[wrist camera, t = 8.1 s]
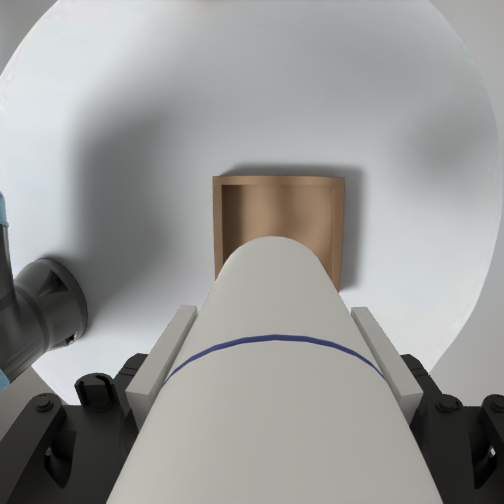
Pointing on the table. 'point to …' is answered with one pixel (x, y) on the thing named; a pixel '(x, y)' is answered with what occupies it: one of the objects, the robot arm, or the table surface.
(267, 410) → the cylindrical container
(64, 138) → the table surface
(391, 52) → the table surface
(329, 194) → the tray
